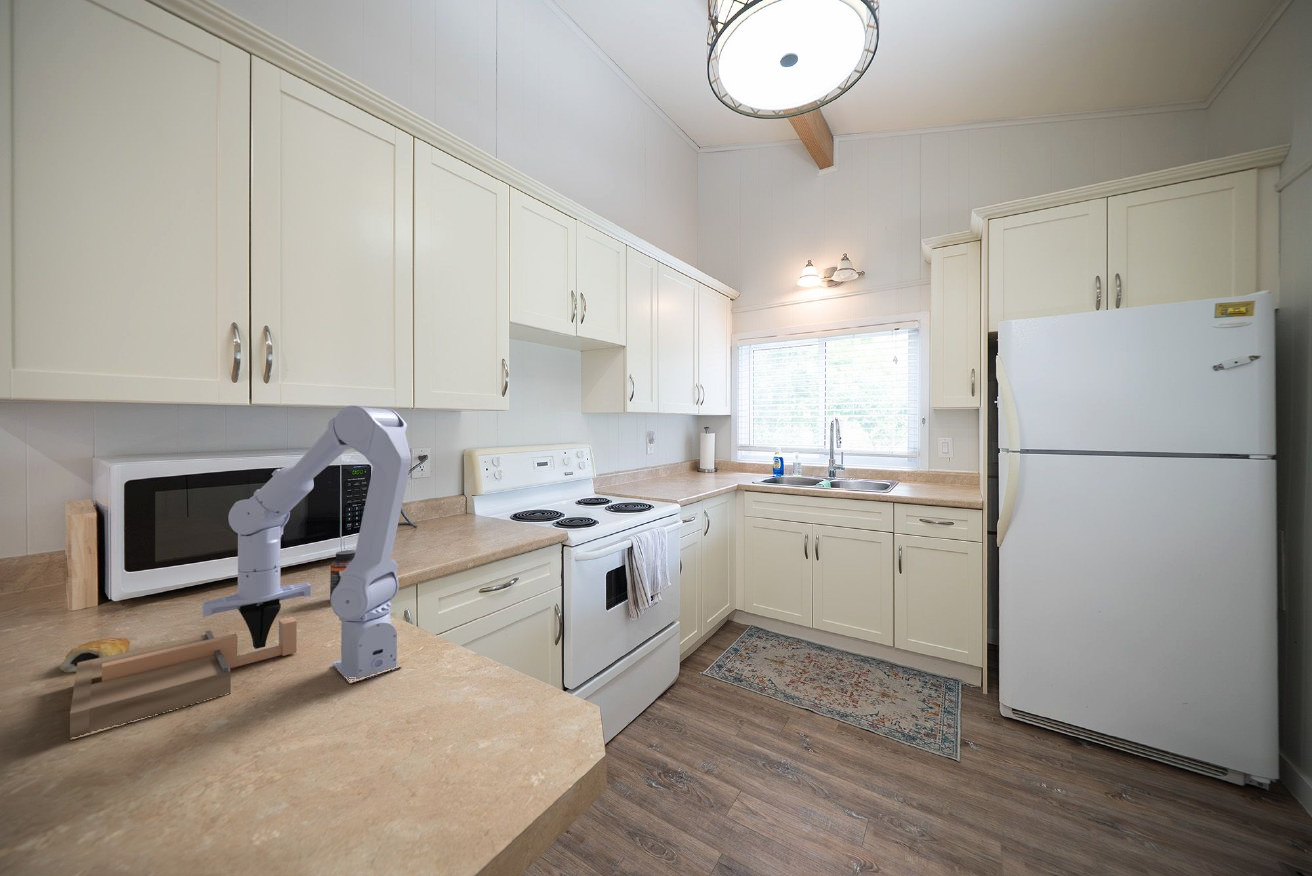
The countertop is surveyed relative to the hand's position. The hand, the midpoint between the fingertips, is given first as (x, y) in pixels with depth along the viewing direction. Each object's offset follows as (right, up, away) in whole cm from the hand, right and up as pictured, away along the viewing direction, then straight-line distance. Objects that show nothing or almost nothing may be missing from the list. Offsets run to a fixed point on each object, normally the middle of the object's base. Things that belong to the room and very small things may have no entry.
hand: (259, 646), depth 85 cm
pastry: (-27, -3, 0) cm, 28 cm away
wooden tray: (-8, -3, -9) cm, 12 cm away
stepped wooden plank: (-4, -2, -5) cm, 7 cm away
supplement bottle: (-5, -3, +32) cm, 32 cm away
